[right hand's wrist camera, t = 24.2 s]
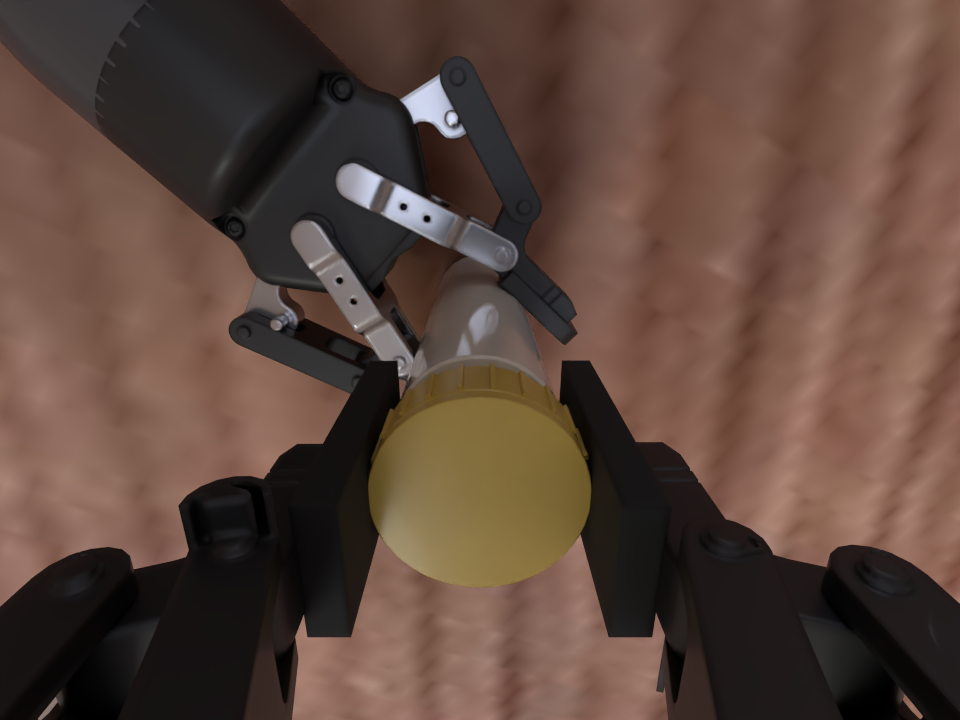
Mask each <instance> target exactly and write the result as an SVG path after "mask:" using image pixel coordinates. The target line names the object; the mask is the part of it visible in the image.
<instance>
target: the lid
mask: <svg viewBox="0 0 960 720" xmlns="http://www.w3.org/2000/svg"><path fill="white" fill-rule="evenodd" d="M587 459H589V457H588V454H587V451H586V448H585V446H584V443H583V440H582V438H581V435H580V432H579V430H578V428H577V429H576V428H575V425H574V422H573V419H572V417H571V414H570V411H569V409H568V407H567V405H564V406H562V404H561V403H560V402H559V401H558V400H557V398H556V397H555V396H554V395H553V394H552V393H551V390H550V387H549V386H548V385H545V386H542V385H541V384H539V383H538V382H536V381H534V380H533V379H531V378H529V377H527V376H525V373H524V371H521V370H520V371H519V373H517V372H514V371H511V370H508V369H503V368H498V367H495V364H493V363H490V366H467V367H464V364H460V365H459V368H456V369H451V370H448V371H445V372H442V373H439V374H437V375H436V374H435V372H433V373H431V374H430V377H429V378H428V379H427V380H425V381H423V382H422V383H420V384H419V385H417V386H416V387H415V388H413V389H412V390H411V389H410V388H408V389H407V390H406V392H405V395H404V398H403V399H402V400H401V401H400V402H399V404H398V405H397V406H396V408H395V409H394V410H393V409H390V410H389V412H388V415H387V418H386V420H385V423H384V426H383V428H382V431H381V434H380V436H379V440H378V443H377V445H376V448H375V451H374V453H373V456H372V459H371V465H372V467H371V470H370V473H369V480H368V493H369V505H370V513H371V516H372V520H373V523H374V525H375V527H376V529H377V531H378V533H379V535H380V536H381V538H382V539H383V541H384V542H385V544H386V545H387V546H388V547H389V548H390V550H391V551H392V552H393V553H394V554H395V555H396V556H397V557H398V558H400V559H401V560H402V561H403V562H404V563H406V564H407V565H409V566H410V567H411V568H413V569H414V570H416V571H418V572H420V573H422V574H424V575H426V576H428V577H430V578H433V579H435V580H438V581H441V582H445V583H449V584H453V585H459V586H465V587H494V586H501V585H507V584H511V583H515V582H518V581H521V580H524V579H527V578H529V577H532V576H534V575H536V574H538V573H540V572H542V571H543V570H545V569H546V568H548V567H549V566H551V565H552V564H554V563H555V562H556V561H557V560H559V559H560V558H561V557H562V556H563V555H564V554H565V553H566V552H567V551H568V550H569V549H570V548H571V547H572V546H573V544H574V543H575V541H576V540H577V538H578V537H579V535H580V533H581V532H582V530H583V528H584V526H585V523H586V520H587V517H588V514H589V511H590V501H591V489H592V484H591V477H590V472H589V469H588V465H587V462H586V460H587Z"/></svg>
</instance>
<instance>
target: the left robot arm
mask: <svg viewBox="0 0 960 720" xmlns="http://www.w3.org/2000/svg"><path fill="white" fill-rule="evenodd" d="M0 42H1V43H2V44H3V45H4V46H5V47H6V48H7V49H8V50H9V51H10V52H11V53H12V54H13V55H14V57H15V58H16V59H17V60H18V61H19V62H20V63H21V64H22V65H23V66H24V67H25V68H26V69H27V70H28V71H29V72H30V73H31V74H32V75H33V76H34V77H35V78H37V79H38V80H39V81H40V82H41V83H42V84H43V85H44V86H45V87H47V88H48V89H49V90H50V91H51V92H52V93H54V94H55V95H56V96H57V97H58V98H60V99H61V100H62V101H63V102H64V103H66V104H67V105H68V106H69V107H70V108H72V109H73V110H74V111H75V112H76V113H78V114H79V115H80V116H81V117H82V118H84V119H85V120H86V121H87V122H88V123H90V124H91V125H92V126H93V127H94V128H95V129H97V130H98V131H99V132H100V133H101V134H103V135H104V136H105V137H106V138H107V139H108V140H110V141H111V142H112V143H113V144H114V145H116V146H117V147H118V148H119V149H120V150H122V151H123V152H124V153H125V154H126V155H128V156H129V157H130V158H131V159H132V160H134V161H135V162H136V163H137V164H138V165H140V166H141V167H142V168H143V169H144V170H146V171H147V172H148V173H149V174H150V175H152V176H153V177H154V178H155V179H156V180H158V181H159V182H160V183H161V184H162V185H164V186H165V187H166V188H167V189H168V190H170V191H171V192H172V193H173V194H174V195H176V196H177V197H178V198H179V199H180V200H182V201H183V202H184V203H185V204H186V205H187V206H189V207H190V208H191V209H192V210H193V211H195V212H196V213H197V214H198V215H199V216H201V217H202V218H203V219H204V220H205V221H207V222H208V223H209V224H211V225H212V226H213V227H215V228H216V229H217V230H219V231H220V232H222V233H223V234H225V235H226V236H228V237H229V238H230V239H231V240H233V241H234V242H235V243H236V245H237V246H238V247H239V248H240V250H241V251H242V253H243V255H244V256H245V258H246V261H247V263H248V265H249V267H250V269H251V270H252V272H253V273H254V274H255V276H257V279H256V282H255V285H254V288H253V291H252V293H251V296H250V299H249V302H248V305H247V308H246V310H245V312H244V314H242V315H240V316H239V317H237V318H236V319H234V320H233V321H232V322H231V323H230V326H229V334H230V337H231V338H232V340H233V341H234V342H235V343H237V344H238V345H240V346H243V347H245V348H247V349H250V350H252V351H254V352H257V353H259V354H261V355H263V356H266V357H268V358H270V359H273V360H275V361H277V362H279V363H282V364H284V365H286V366H289V367H291V368H293V369H295V370H298V371H300V372H302V373H305V374H307V375H309V376H311V377H314V378H316V379H318V380H321V381H323V382H325V383H328V384H330V385H332V386H334V387H337V388H339V389H341V390H344V391H346V392H348V393H350V394H352V392H353V390H354V388H355V386H356V385H357V383H358V381H359V379H360V378H361V376H362V374H363V372H364V371H365V369H366V367H367V365H368V364H369V362H370V361H398V374H399V379H402V380H405V381H407V379H408V376H409V373H410V370H411V367H412V364H413V361H414V358H415V355H416V352H417V349H418V347H419V344H420V338H419V336H418V335H417V333H416V332H415V330H414V329H413V327H412V326H411V324H410V322H409V321H408V319H407V318H406V316H405V315H404V313H403V312H402V310H401V308H400V307H399V305H398V301H397V298H396V296H395V294H394V292H393V290H392V289H391V287H390V286H389V284H388V283H387V281H386V280H385V277H386V275H387V274H388V273H389V272H390V271H391V270H392V268H393V266H394V264H395V262H396V260H397V258H398V256H399V255H401V254H402V253H404V252H405V251H407V250H408V249H410V248H412V246H413V245H414V244H415V243H416V242H417V241H418V240H419V239H420V237H421V236H424V237H426V238H428V239H430V240H432V241H434V242H436V243H438V244H440V245H442V246H444V247H446V248H449V249H453V250H456V251H458V252H460V253H462V254H464V255H466V256H468V257H470V258H472V259H474V260H476V261H478V262H480V263H482V264H484V265H485V266H487V267H489V268H491V269H493V270H494V271H495V272H496V273H497V274H498V276H499V281H500V285H501V286H502V287H503V288H504V289H505V290H506V291H507V292H508V293H509V294H511V295H512V296H513V297H514V298H515V299H516V300H517V301H518V302H519V303H520V304H521V305H522V306H523V307H524V308H525V309H526V310H527V311H528V312H529V313H531V314H532V315H533V316H534V317H535V318H536V319H537V320H538V321H539V322H540V323H541V324H542V325H543V326H544V327H545V328H546V329H547V330H548V331H549V332H551V333H552V334H553V335H554V336H555V337H556V338H557V339H558V340H559V341H560V342H561V343H562V344H564V345H566V344H567V343H568V342H569V341H570V340H571V339H572V338H573V337H574V336H575V335H577V334H578V333H577V331H576V329H575V328H574V326H573V324H572V323H571V322H570V321H571V320H572V319H573V318H574V317H575V316H576V315H577V313H576V311H575V309H574V306H573V304H572V302H571V300H570V299H569V297H568V296H567V294H566V293H565V292H564V291H563V290H562V289H561V288H560V287H559V286H557V285H556V284H555V283H554V282H553V281H552V280H551V279H550V278H549V277H548V276H547V275H546V274H545V273H544V272H543V271H542V270H541V269H540V268H539V267H538V266H537V265H536V264H535V263H534V262H533V261H532V260H531V259H530V258H529V257H528V256H527V255H526V254H525V250H524V243H525V239H526V237H527V234H528V232H529V230H530V228H531V226H532V223H533V222H534V221H535V220H536V219H537V218H538V216H539V214H540V212H541V201H540V199H539V197H538V195H537V193H536V191H535V189H534V187H533V185H532V183H531V181H530V179H529V177H528V175H527V173H526V171H525V169H524V167H523V165H522V163H521V161H520V159H519V157H518V155H517V153H516V151H515V149H514V147H513V145H512V143H511V141H510V139H509V137H508V135H507V133H506V131H505V129H504V127H503V125H502V123H501V121H500V119H499V117H498V115H497V113H496V111H495V109H494V107H493V105H492V103H491V101H490V99H489V97H488V95H487V93H486V91H485V89H484V87H483V85H482V83H481V81H480V79H479V77H478V75H477V73H476V71H475V69H474V67H473V65H472V64H471V62H470V61H469V60H467V59H466V58H464V57H460V56H455V57H451V58H449V59H448V60H447V61H445V63H444V64H443V65H442V67H441V70H440V74H439V75H438V76H436V77H435V78H433V79H431V80H430V81H428V82H427V83H425V84H424V85H422V86H421V87H419V88H417V89H416V90H414V91H413V92H411V93H410V94H408V95H407V96H405V97H403V98H402V99H400V100H399V99H398V98H397V97H395V96H393V95H391V94H388V93H385V92H381V91H378V90H375V89H372V88H370V87H368V86H367V85H365V84H364V83H363V82H362V81H361V80H360V79H359V78H358V77H357V76H356V75H355V74H354V73H353V72H352V71H351V70H350V69H349V68H348V67H347V66H346V65H345V64H344V63H343V62H342V61H341V60H340V59H339V58H338V57H337V56H336V55H335V54H334V53H333V52H332V51H331V50H330V49H329V48H328V47H327V46H326V45H325V44H324V43H323V42H322V41H321V40H320V39H319V38H318V37H317V36H316V35H315V34H314V33H313V32H312V31H311V30H310V29H309V28H307V27H306V26H305V25H304V24H303V23H302V22H301V21H300V20H299V19H298V18H297V17H296V16H295V15H294V14H293V13H292V12H291V11H290V10H289V9H288V8H287V7H286V6H285V5H284V4H283V3H282V2H281V1H280V0H0ZM424 123H428V124H432V125H434V126H435V127H437V128H438V130H439V131H440V133H441V134H443V135H444V136H445V137H446V138H448V139H452V140H457V139H460V138H462V137H464V136H465V135H467V136H468V138H469V140H470V142H471V144H472V146H473V148H474V150H475V152H476V154H477V156H478V157H479V159H480V161H481V163H482V165H483V167H484V169H485V171H486V173H487V175H488V176H489V178H490V180H491V182H492V184H493V186H494V188H495V190H496V192H497V194H498V196H499V197H500V199H501V201H502V203H503V205H502V207H501V210H500V212H499V214H498V217H497V219H496V221H495V224H494V226H492V225H490V224H488V223H486V222H484V221H482V220H480V219H478V218H477V217H475V216H473V215H471V214H469V213H468V212H466V211H465V210H463V209H461V208H460V207H458V206H456V205H454V204H452V203H450V202H448V201H446V200H444V199H442V198H440V197H439V196H437V195H435V194H433V193H431V191H430V186H429V182H428V177H427V172H426V167H425V162H424V158H423V153H422V148H421V143H420V138H419V134H418V129H417V126H418V125H420V124H424ZM287 288H293V289H301V290H308V291H316V292H323V293H329V294H330V295H331V296H332V298H333V299H334V301H335V302H336V304H337V305H338V307H339V308H340V310H341V311H342V313H343V314H344V316H345V317H346V318H347V320H348V321H349V323H350V324H351V326H352V327H353V329H354V330H355V331H356V332H357V333H359V334H361V335H363V336H364V337H365V338H366V340H367V341H368V343H369V344H370V346H371V347H372V348H369V347H367V346H365V345H363V344H361V343H358V342H356V341H354V340H352V339H350V338H347V337H345V336H343V335H341V334H339V333H336V332H334V331H332V330H330V329H328V328H325V327H323V326H321V325H319V324H317V323H314V322H312V321H310V320H308V319H306V318H305V313H304V310H303V308H302V307H301V305H300V304H298V303H297V302H295V301H294V300H293V299H291V297H290V296H289V294H288V292H287ZM353 298H354V299H356V300H357V302H356V301H354V299H353Z"/></svg>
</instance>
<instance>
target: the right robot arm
mask: <svg viewBox="0 0 960 720" xmlns="http://www.w3.org/2000/svg"><path fill="white" fill-rule="evenodd" d="M399 402H400V391H399V374H398V361H370V362H369V364H368V365H367V367H366V369H365V371H364V372H363V374H362V376H361V378H360V379H359V381H358V383H357V385H356V386H355V388H354V390H353V392H352V394H351V395H350V397H349V399H348V401H347V402H346V404H345V406H344V408H343V409H342V411H341V413H340V415H339V416H338V418H337V420H336V422H335V424H334V425H333V427H332V429H331V431H330V432H329V434H328V436H327V438H326V439H325V441H324V443H323V444H297V445H295V446H294V447H292V448H291V449H289V450H288V451H286V452H285V453H283V454H282V455H281V456H279V458H278V459H277V461H276V462H275V464H274V465H273V466H272V468H271V469H270V473H268V474H267V475H266V477H265V478H264V479H260V478H256V477H252V476H234V477H229V478H225V479H220V480H216V481H214V482H211V483H209V484H206V485H204V486H201V487H199V488H198V489H196V490H195V491H193V492H192V493H190V494H189V495H187V496H186V497H185V498H184V500H183V501H182V502H181V503H180V504H179V510H180V514H181V519H182V523H183V527H184V531H185V535H186V540H187V544H188V548H189V552H188V554H187V556H186V557H185V558H182V559H178V560H175V561H171V562H166V563H162V564H157V565H152V566H148V567H143V568H138V569H133V565H132V562H131V558H130V556H129V555H128V554H127V553H126V552H125V551H123V550H122V549H117V548H111V547H105V548H96V549H89V550H85V551H81V552H79V553H75V554H72V555H69V556H67V557H65V558H63V559H61V560H59V561H57V562H55V563H53V564H51V565H49V566H48V567H47V568H45V569H44V570H42V571H41V572H40V573H38V574H37V575H36V576H34V577H33V578H32V579H31V580H29V581H28V582H27V583H26V584H25V585H24V586H23V587H22V588H21V589H20V590H18V591H17V592H16V593H15V594H14V595H13V596H12V597H11V598H10V599H8V600H7V601H6V602H5V603H4V604H3V605H2V606H1V607H0V720H38V718H39V716H40V715H41V714H42V713H43V711H44V710H45V709H46V708H47V707H48V705H49V704H50V703H51V702H52V700H53V699H54V698H55V697H56V698H57V701H58V703H57V704H56V705H55V706H54V708H53V709H52V710H51V711H50V713H49V714H48V715H46V716H45V717H44V718H43V719H42V720H292V713H293V703H294V694H295V685H296V675H297V666H298V653H297V646H296V640H295V635H296V633H297V630H298V628H299V625H300V623H301V620H302V618H303V615H304V617H305V624H306V630H307V637H351V635H352V631H353V628H354V624H355V620H356V617H357V613H358V609H359V606H360V602H361V598H362V595H363V591H364V587H365V584H366V580H367V576H368V573H369V569H370V566H371V562H372V558H373V555H374V551H375V547H376V544H377V540H378V536H379V533H378V531H377V529H376V527H375V525H374V523H373V520H372V516H371V513H370V505H369V493H368V480H369V473H370V470H371V467H372V465H371V459H372V456H373V453H374V451H375V448H376V445H377V443H378V440H379V436H380V434H381V431H382V428H383V426H384V423H385V420H386V418H387V415H388V412H389V410H390V409H393V410H394V409H395V408H396V406H397V405H398V404H399ZM560 403H561V404H562V406H564V405H567V407H568V409H569V411H570V414H571V417H572V419H573V422H574V425H575V428H576V429H577V428H578V430H579V432H580V435H581V438H582V440H583V443H584V446H585V448H586V451H587V454H588V457H589V459H587V460H586V462H587V465H588V469H589V472H590V477H591V484H592V489H591V501H590V511H589V514H588V517H587V520H586V523H585V526H584V528H583V530H582V532H581V533H580V534H581V538H582V541H583V545H584V548H585V552H586V556H587V559H588V563H589V567H590V570H591V574H592V578H593V581H594V585H595V589H596V592H597V596H598V600H599V603H600V607H601V610H602V614H603V618H604V621H605V625H606V629H607V632H608V636H609V637H652V635H653V628H654V621H655V615H656V613H657V616H658V618H659V621H660V623H661V626H662V628H663V631H664V634H665V640H664V646H663V652H662V658H661V664H660V670H659V677H658V683H657V690H656V691H658V692H663V691H664V686H665V693H666V702H667V711H668V720H960V604H959V603H958V602H957V601H956V600H955V599H954V598H953V597H952V596H950V595H949V594H948V593H947V592H946V591H945V590H944V589H943V588H942V587H940V586H939V585H938V584H937V583H936V582H935V581H934V580H933V579H932V578H930V577H929V576H928V575H927V574H926V573H924V572H923V571H921V570H920V569H919V568H917V567H916V566H914V565H913V564H912V563H910V562H908V561H906V560H904V559H902V558H900V557H898V556H896V555H894V554H892V553H889V552H887V551H884V550H879V549H877V548H872V547H867V546H859V545H848V546H842V547H838V548H836V549H835V550H834V551H833V552H832V553H830V557H829V560H828V564H827V567H823V566H818V565H813V564H809V563H804V562H799V561H795V560H790V559H786V558H782V557H779V556H775V555H773V553H772V551H771V549H770V547H769V546H768V545H767V543H766V542H765V540H764V539H763V538H762V537H760V536H759V535H758V534H756V533H755V532H754V531H752V530H751V529H749V528H747V527H745V526H743V525H741V524H739V523H736V522H734V521H730V520H726V519H725V518H724V516H723V515H722V514H721V512H720V511H719V509H718V508H717V506H716V505H715V504H714V502H713V501H712V499H711V498H710V496H709V495H708V493H707V492H706V491H705V489H704V488H703V486H702V485H701V483H698V479H697V478H696V476H695V475H694V473H693V472H692V471H690V468H689V466H688V465H687V463H686V462H685V461H684V459H683V458H682V456H681V455H680V454H679V453H677V452H676V451H675V450H673V449H672V448H670V447H669V446H667V445H666V444H664V443H663V442H635V440H634V438H633V436H632V435H631V433H630V431H629V429H628V428H627V426H626V424H625V422H624V421H623V419H622V417H621V415H620V414H619V412H618V410H617V408H616V406H615V405H614V403H613V401H612V399H611V398H610V396H609V394H608V392H607V391H606V389H605V387H604V385H603V384H602V382H601V380H600V378H599V376H598V375H597V373H596V371H595V369H594V368H593V366H592V364H591V362H590V361H562V369H561V386H560ZM904 695H906V696H907V697H908V698H909V700H910V701H911V702H912V703H913V704H914V706H915V707H916V708H917V709H918V710H919V712H920V713H921V714H922V715H923V718H922V719H919V718H918V717H917V716H916V715H915V714H914V713H913V712H912V711H911V710H910V709H909V707H908V706H907V705H906V704H905V702H904V701H903V697H904Z"/></svg>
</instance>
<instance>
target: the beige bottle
mask: <svg viewBox="0 0 960 720" xmlns="http://www.w3.org/2000/svg"><path fill="white" fill-rule="evenodd" d="M490 363H493V364H495V367H498V368H503V369H508V370H511V371H514V372H517V373H519V371H520V370H521V371H524V373H525V376H527V377H529V378H531V379H533V380H534V381H536V382H538V383H539V384H541V385H542V386H545V385H548V386H549V387H550V390H551V393H552V394H553V395H554V396H555V394H554V391H553V388H552V385H551V382H550V379H549V376H548V373H547V370H546V367H545V364H544V361H543V358H542V355H541V352H540V349H539V346H538V343H537V340H536V337H535V334H534V331H533V328H532V325H531V322H530V319H529V316H528V313H527V310H526V309H525V308H524V307H523V306H522V305H521V304H520V303H519V302H518V301H517V300H516V299H515V298H514V297H513V296H512V295H511V294H509V293H508V292H507V291H506V290H505V289H504V288H503V287H502V286H501V285H500V281H499V276H498V274H497V273H496V272H495V271H494V270H493V269H491V268H489V267H487V266H485V265H484V264H482V263H480V262H478V261H476V260H474V259H472V258H470V257H465V258H463V259H461V260H459V261H457V262H455V263H454V264H453V265H452V266H451V267H450V268H449V269H448V270H447V271H446V272H445V274H444V275H443V277H442V279H441V282H440V285H439V288H438V291H437V293H436V296H435V299H434V302H433V305H432V308H431V311H430V314H429V317H428V320H427V323H426V326H425V329H424V332H423V335H422V338H421V341H420V344H419V347H418V349H417V352H416V355H415V358H414V361H413V364H412V367H411V370H410V373H409V376H408V379H407V382H406V385H405V388H404V391H403V394H402V397H401V400H402V399H403V398H404V395H405V392H406V390H407V389H408V388H410V389H411V390H412V389H413V388H415V387H416V386H417V385H419V384H420V383H422V382H423V381H425V380H427V379H428V378H429V377H430V374H431V373H433V372H435V374H436V375H437V374H439V373H442V372H445V371H448V370H451V369H456V368H459V365H460V364H464V367H467V366H490ZM401 400H400V401H401Z"/></svg>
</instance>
